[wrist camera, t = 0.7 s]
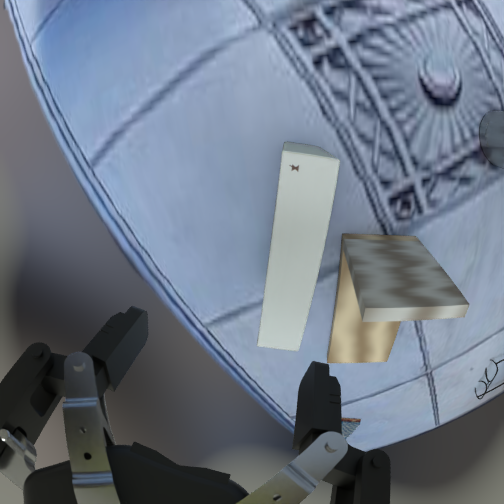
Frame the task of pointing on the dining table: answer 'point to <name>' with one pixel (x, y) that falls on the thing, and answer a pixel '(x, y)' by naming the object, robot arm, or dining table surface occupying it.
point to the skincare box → (296, 242)
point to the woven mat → (349, 426)
